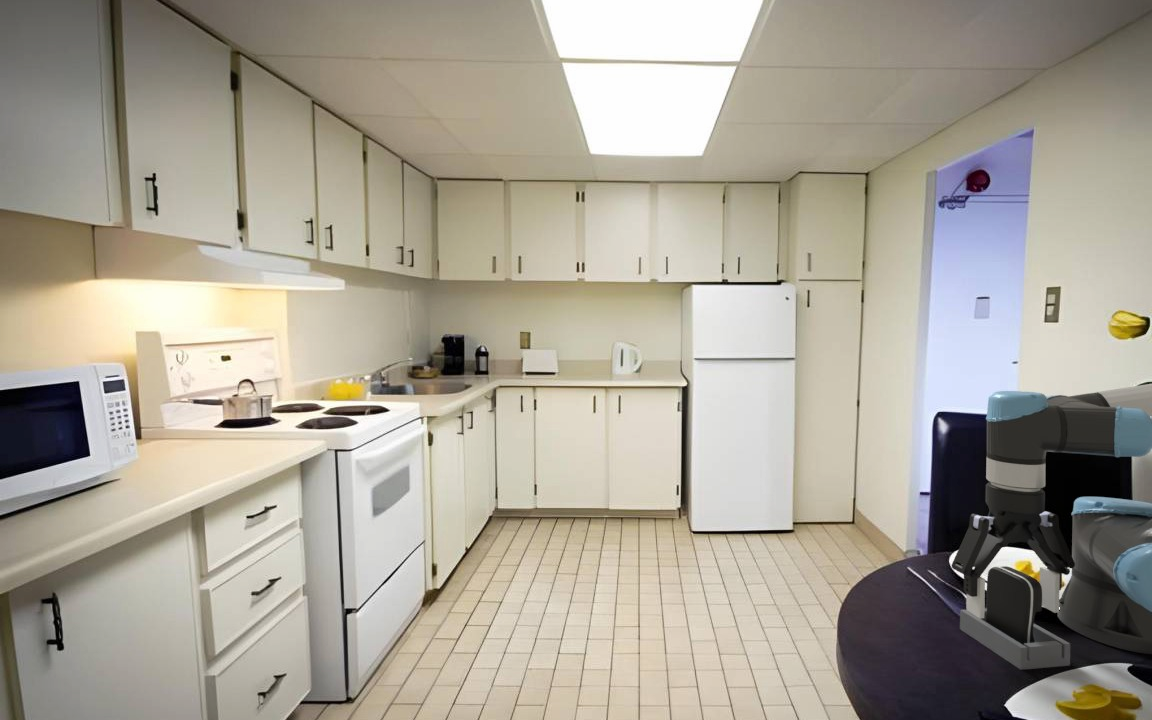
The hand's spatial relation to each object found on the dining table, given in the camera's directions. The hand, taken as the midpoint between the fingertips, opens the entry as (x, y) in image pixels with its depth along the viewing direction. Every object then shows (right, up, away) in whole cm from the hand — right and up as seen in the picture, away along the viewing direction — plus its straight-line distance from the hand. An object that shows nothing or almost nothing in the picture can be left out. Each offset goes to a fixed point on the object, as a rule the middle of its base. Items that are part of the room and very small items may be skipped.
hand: (1012, 611), depth 88 cm
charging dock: (0, -6, 0) cm, 6 cm away
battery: (0, -5, 0) cm, 5 cm away
